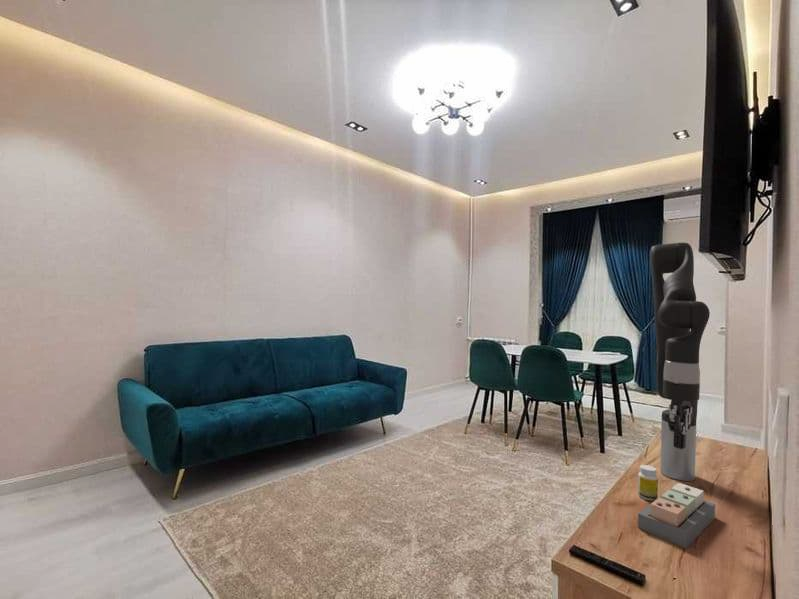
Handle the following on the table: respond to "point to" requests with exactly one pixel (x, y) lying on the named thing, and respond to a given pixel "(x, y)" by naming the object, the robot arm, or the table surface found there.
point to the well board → (685, 530)
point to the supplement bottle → (647, 483)
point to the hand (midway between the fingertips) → (679, 447)
